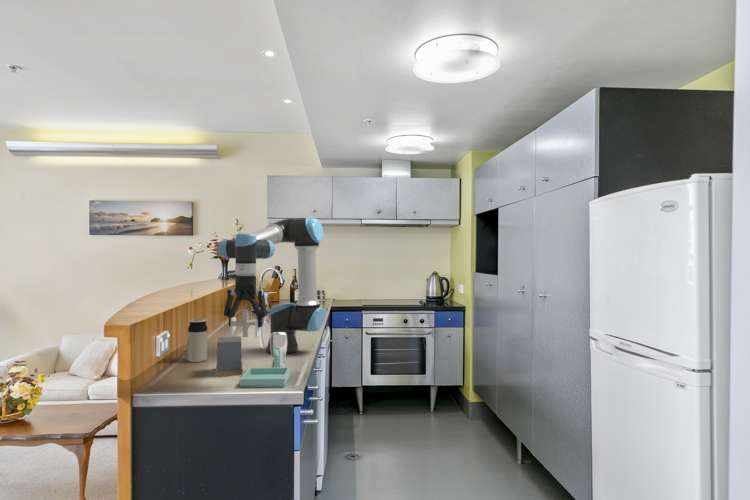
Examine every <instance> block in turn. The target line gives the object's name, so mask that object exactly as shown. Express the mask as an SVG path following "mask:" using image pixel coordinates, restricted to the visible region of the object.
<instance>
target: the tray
mask: <svg viewBox="0 0 750 500" xmlns="http://www.w3.org/2000/svg"><path fill="white" fill-rule="evenodd" d="M290 376H291V367H286V368H271V367H249V368H248V369H247V370H246V372H245V373H244V374H243V375H241V377H240V379H239V389H240V388H241V389H249V388H250V389H251V388H253V387H255V388H256V387H263V388H285V387H286V385H287V382H288V380H289V378H290Z"/></svg>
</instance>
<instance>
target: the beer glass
mask: <svg viewBox="0 0 750 500" xmlns="http://www.w3.org/2000/svg"><path fill="white" fill-rule="evenodd" d="M269 339H270V351H271V353H270V355H271V367H270V368H287V367H286V358H287V357H286V355H287V354H286V351H287V333H286V332H273V333H271V336H269Z"/></svg>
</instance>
